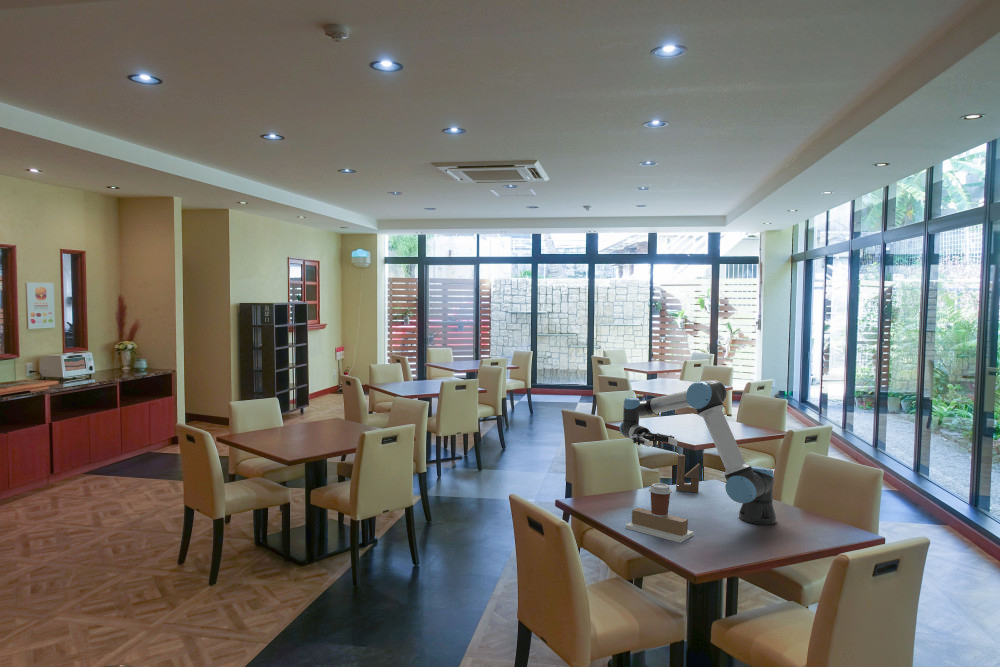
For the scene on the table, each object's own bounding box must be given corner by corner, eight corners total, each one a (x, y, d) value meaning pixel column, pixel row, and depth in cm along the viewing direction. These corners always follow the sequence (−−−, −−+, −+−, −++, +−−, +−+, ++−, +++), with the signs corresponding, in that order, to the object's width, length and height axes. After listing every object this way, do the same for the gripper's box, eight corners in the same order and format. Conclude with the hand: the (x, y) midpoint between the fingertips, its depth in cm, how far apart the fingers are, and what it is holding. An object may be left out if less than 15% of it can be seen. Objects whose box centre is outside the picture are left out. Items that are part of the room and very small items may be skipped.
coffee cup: (643, 512, 265) (644, 483, 265) (660, 510, 270) (661, 481, 269) (658, 519, 257) (659, 489, 257) (675, 516, 261) (677, 487, 261)
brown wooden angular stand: (698, 492, 324) (699, 457, 324) (676, 490, 327) (677, 455, 326) (698, 491, 328) (699, 455, 327) (676, 489, 330) (677, 453, 330)
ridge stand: (693, 535, 260) (693, 518, 260) (680, 542, 251) (681, 524, 251) (639, 521, 276) (639, 505, 276) (625, 528, 267) (625, 511, 266)
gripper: (663, 441, 308) (687, 451, 287) (615, 442, 301) (636, 452, 281) (664, 425, 308) (688, 434, 287) (615, 426, 301) (637, 435, 281)
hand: (662, 443), depth 284 cm, fingers open, 13 cm apart
